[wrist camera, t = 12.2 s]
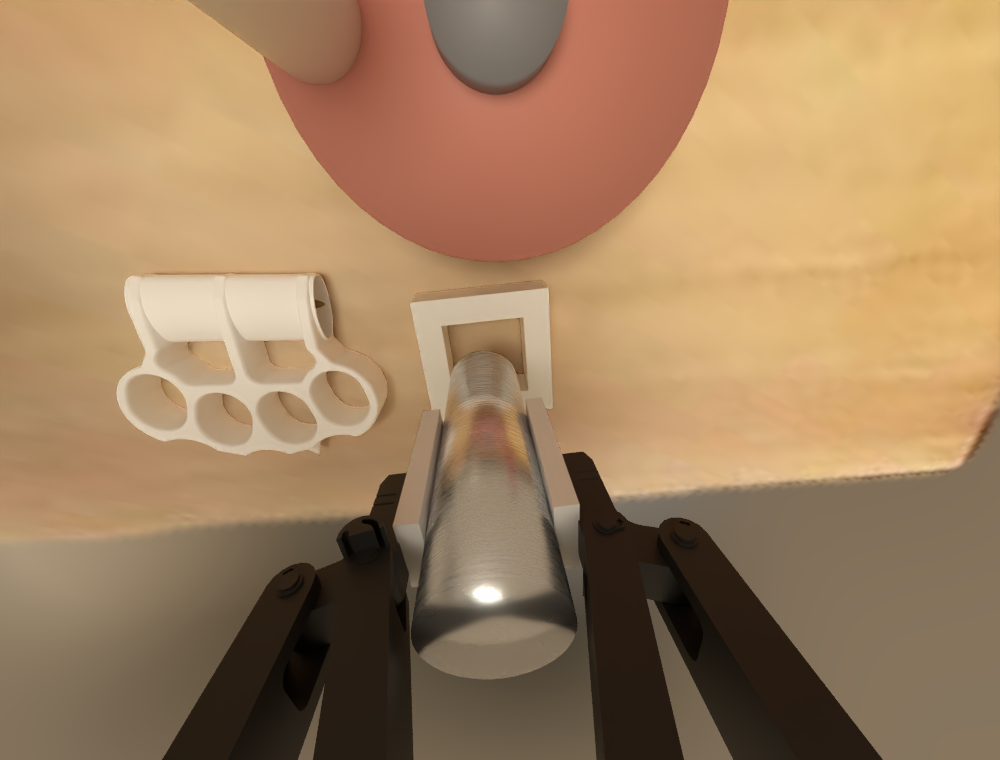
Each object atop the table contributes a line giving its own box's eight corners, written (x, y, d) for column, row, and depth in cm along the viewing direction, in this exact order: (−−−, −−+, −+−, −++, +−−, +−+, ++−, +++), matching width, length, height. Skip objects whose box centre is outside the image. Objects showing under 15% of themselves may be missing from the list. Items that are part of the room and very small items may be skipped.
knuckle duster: (372, 270, 25) (397, 441, 31) (105, 271, 24) (184, 447, 30) (357, 278, 22) (388, 466, 28) (51, 279, 21) (152, 473, 27)
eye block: (438, 402, 29) (434, 421, 27) (417, 293, 25) (409, 302, 23) (546, 390, 29) (552, 408, 27) (541, 280, 26) (548, 287, 23)
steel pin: (455, 414, 22) (427, 687, 9) (445, 355, 20) (393, 591, 8) (519, 407, 22) (577, 668, 9) (514, 347, 20) (577, 568, 8)
